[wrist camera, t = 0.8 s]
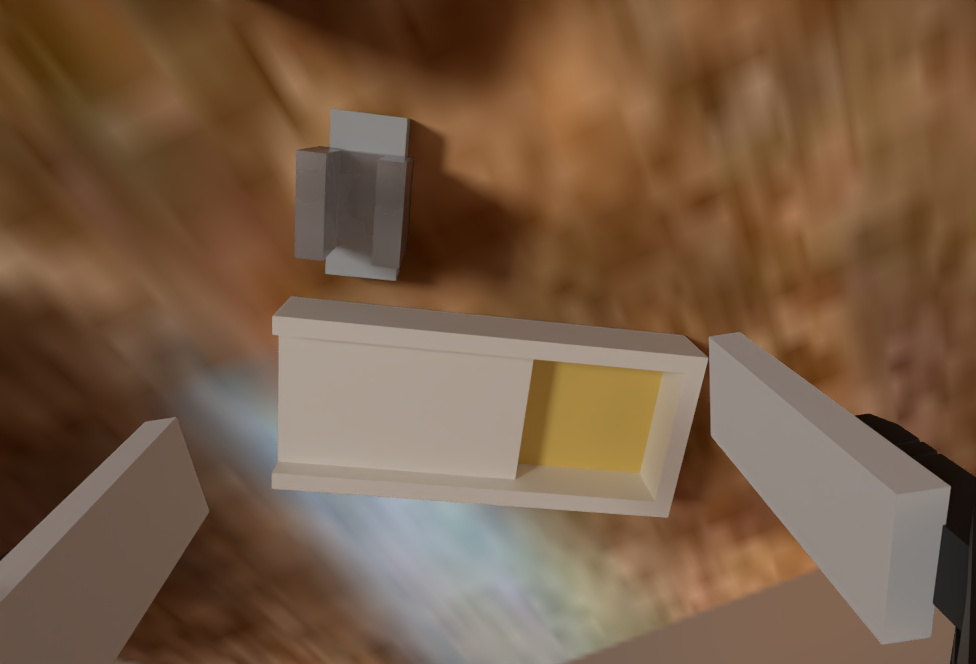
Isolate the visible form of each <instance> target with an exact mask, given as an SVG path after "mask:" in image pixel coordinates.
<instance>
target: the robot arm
mask: <svg viewBox="0 0 976 664" xmlns="http://www.w3.org/2000/svg"><path fill="white" fill-rule="evenodd" d="M709 368H710V417H711V437H712V438H713V439H714V440H715V441H716V443H717V444H718V445H719V446H720V448H721V449H722V450H723V451H724V452H725V454H726V455H727V456H728V457H729V459H730V460H731V461H732V462H733V463H734V465H735V466H736V467H737V468H738V469H739V471H740V472H741V473H742V474H743V476H744V477H745V478H746V479H747V480H748V482H749V483H750V484H751V485H752V487H753V488H754V489H755V490H756V491H757V493H758V494H759V495H760V496H761V498H762V499H763V500H764V501H765V502H766V504H767V505H768V506H769V507H770V509H771V510H772V511H773V512H774V513H775V515H776V516H777V517H778V518H779V520H780V521H781V522H782V523H783V524H784V526H785V527H786V528H787V529H788V531H789V532H790V533H791V534H792V535H793V537H794V538H795V539H796V540H797V541H798V543H799V544H800V545H801V546H802V548H803V549H804V550H805V551H806V552H807V554H808V555H809V556H810V557H811V559H812V560H813V561H814V562H815V563H816V565H817V566H818V567H819V568H820V570H821V571H822V572H823V573H824V574H825V576H826V577H827V578H828V579H829V580H830V582H831V583H832V584H833V585H834V587H835V588H836V589H837V590H838V591H839V593H840V594H841V595H842V596H843V598H844V599H845V600H846V601H847V603H848V604H849V605H850V606H851V607H852V609H853V610H854V611H855V612H856V613H857V615H858V616H859V617H860V618H861V620H862V621H863V622H864V623H865V624H866V626H867V627H868V628H869V629H870V631H871V632H872V633H873V634H874V635H875V637H876V638H877V639H878V640H879V641H880V643H881V644H882V645H883V644H890V643H896V642H903V641H909V640H916V639H923V638H929V637H931V632H932V624H933V616H934V609H935V606H936V607H937V608H938V609H939V610H940V611H941V612H942V613H943V614H944V615H945V616H946V617H947V618H948V619H949V620H950V621H951V622H952V623H953V624H954V625H955V626H956V627H955V634H954V641H953V648H952V654H951V661H950V664H976V477H974V476H973V475H971V474H970V473H969V472H967V471H966V470H964V469H963V468H961V467H960V466H958V465H957V464H955V463H954V462H952V461H951V460H949V459H948V458H946V457H945V456H944V455H942V454H937V451H936V450H935V449H933V448H932V447H930V446H929V445H927V444H926V443H924V442H920V441H919V439H918V438H917V437H916V436H914V435H913V434H911V433H910V432H908V431H907V430H905V429H904V428H902V427H901V426H899V425H898V424H895V423H893V422H890V421H887V420H885V419H882V418H879V417H877V416H874V415H872V414H863V415H856V416H854V415H853V414H851V413H850V412H848V411H847V410H846V409H844V408H843V407H842V406H840V405H839V404H837V403H836V402H835V401H833V400H832V399H831V398H829V397H828V396H827V395H825V394H824V393H822V392H821V391H820V390H818V389H817V388H816V387H814V386H813V385H812V384H810V383H809V382H807V381H806V380H805V379H803V378H802V377H801V376H799V375H798V374H796V373H795V372H794V371H792V370H791V369H790V368H788V367H787V366H786V365H784V364H783V363H781V362H780V361H779V360H777V359H776V358H775V357H773V356H772V355H771V354H769V353H768V352H766V351H765V350H764V349H762V348H761V347H760V346H758V345H757V344H755V343H754V342H753V341H751V340H750V339H749V338H747V337H746V336H745V335H743V334H742V333H740V332H737V333H730V334H724V335H717V336H710V337H709ZM208 513H209V509H208V506H207V503H206V500H205V497H204V495H203V492H202V489H201V486H200V483H199V480H198V477H197V475H196V472H195V469H194V466H193V463H192V460H191V457H190V455H189V452H188V449H187V446H186V443H185V440H184V437H183V435H182V432H181V429H180V426H179V423H178V420H177V417H173V418H167V419H160V420H153V421H147V422H144V423H143V424H142V425H141V426H140V427H139V428H138V429H137V430H136V431H135V432H134V433H133V434H132V435H131V436H130V437H129V438H128V439H127V440H126V441H125V442H124V443H123V444H122V445H121V446H119V447H118V448H117V449H116V450H115V451H114V452H113V453H112V454H111V455H110V456H109V457H108V458H107V459H106V460H105V461H104V462H103V463H102V464H101V465H100V466H99V467H98V468H97V469H96V470H95V471H93V472H92V473H91V474H90V475H89V476H88V477H87V478H86V479H85V480H84V481H83V482H82V483H81V484H80V485H79V486H78V487H77V488H76V489H75V490H74V491H73V492H72V493H71V494H70V495H69V496H67V497H66V498H65V499H64V500H63V501H62V502H61V503H60V504H59V505H58V506H57V507H56V508H55V509H54V510H53V511H52V512H51V513H50V514H49V515H48V516H47V517H46V518H45V519H44V520H43V521H41V522H40V523H39V524H38V525H37V526H36V527H35V528H34V529H33V530H32V531H31V532H30V533H29V534H28V535H27V536H26V537H25V538H24V539H23V540H22V541H21V542H20V543H19V544H18V545H17V546H15V547H14V548H13V549H12V550H10V551H9V552H7V553H6V554H4V555H3V556H1V557H0V664H113V663H114V662H115V660H116V658H117V657H118V655H119V654H120V652H121V650H122V649H123V647H124V646H125V644H126V643H127V641H128V639H129V638H130V636H131V635H132V633H133V632H134V630H135V628H136V627H137V625H138V624H139V622H140V620H141V619H142V617H143V616H144V614H145V613H146V611H147V609H148V608H149V606H150V605H151V603H152V602H153V600H154V598H155V597H156V595H157V594H158V592H159V590H160V589H161V587H162V586H163V584H164V583H165V581H166V579H167V578H168V576H169V575H170V573H171V572H172V570H173V568H174V567H175V565H176V564H177V562H178V560H179V559H180V557H181V556H182V554H183V553H184V551H185V549H186V548H187V546H188V545H189V543H190V542H191V540H192V538H193V537H194V535H195V534H196V532H197V530H198V529H199V527H200V526H201V524H202V523H203V521H204V519H205V518H206V516H207V515H208Z"/></svg>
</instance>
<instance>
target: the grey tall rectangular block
mask: <svg viewBox="0 0 976 664" xmlns="http://www.w3.org/2000/svg"><path fill="white" fill-rule="evenodd" d="M409 133H410V119H409V118H401V117H393V116H385V115H377V114H369V113H361V112H353V111H345V110H337V109H331V119H330V147H331V148H339V149H347V150H356V151H364V152H372V153H381V154H389V155H397V156H406V157H408V147H409ZM371 265H372V250H368V249H359V248H350V247H340V246H337V247H336V248H335V249H334V250H333V251H332V252H331V253H330V254H329V255H328V256H327V257H326V270H325V274H333V275H343V276H353V277H362V278H372V279H382V280H391V281H396V279H397V277H398V274H399V270H400V267H399V269H397V268H388V267H378V266H371Z"/></svg>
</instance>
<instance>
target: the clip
mask: <svg viewBox="0 0 976 664" xmlns="http://www.w3.org/2000/svg"><path fill="white" fill-rule="evenodd" d="M413 165H414V157H406V156H397V155H389V154H381V153H372V152H364V151H356V150H347V149H339V148H331V147H322V146H318V147H312V148H306V149H300V150H296V207H295V258H301V259H311V260H321V261H323V260H324V259H325V258H326V257H327V256H328V255H329V254H330V253H331V252H332V251H333V250H334V249H335V248H336V247H337V246H340V247H350V248H359V249H368V250H372V265H371V266H378V267H388V268H397V269H399V267H400V265H401V262H402V260H403V258H404V255H405V253H406V250H407V243H408V230H409V217H410V204H411V191H412V178H413Z"/></svg>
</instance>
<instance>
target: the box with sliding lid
mask: <svg viewBox="0 0 976 664" xmlns="http://www.w3.org/2000/svg"><path fill="white" fill-rule="evenodd" d="M272 335H279V394H278V462H277V464H276V466H275V468H274V470H273V472H272V489H283V490H296V491H310V492H324V493H337V494H351V495H365V496H378V497H392V498H406V499H420V500H433V501H447V502H461V503H474V504H488V505H502V506H516V507H529V508H543V509H557V510H570V511H584V512H598V513H611V514H625V515H639V516H653V517H666V518H668V516H669V512H670V508H671V504H672V500H673V496H674V492H675V488H676V484H677V480H678V476H679V472H680V468H681V465H682V461H683V457H684V453H685V449H686V445H687V441H688V437H689V433H690V429H691V425H692V421H693V417H694V413H695V409H696V405H697V401H698V397H699V393H700V390H701V386H702V382H703V378H704V374H705V370H706V366H707V362H708V357H707V356H706V355H705V354H704V353H703V352H702V351H701V350H700V349H698V348H697V347H696V346H695V345H694V344H693V343H692V342H691V341H690V340H689V339H688V338H687V337H686V336H685V335H677V334H667V333H657V332H647V331H637V330H627V329H616V328H606V327H596V326H586V325H576V324H566V323H556V322H546V321H536V320H526V319H516V318H506V317H496V316H486V315H475V314H465V313H455V312H445V311H435V310H425V309H415V308H405V307H395V306H385V305H375V304H365V303H355V302H345V301H335V300H324V299H314V298H304V297H294V296H291V297H290V298H289V299H288V300H287V301H286V302H285V303H284V304H283V305H282V306H281V307H280V308H279V310H278V311H277V312H276V313H275V314H274V315H273V316H272Z"/></svg>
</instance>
